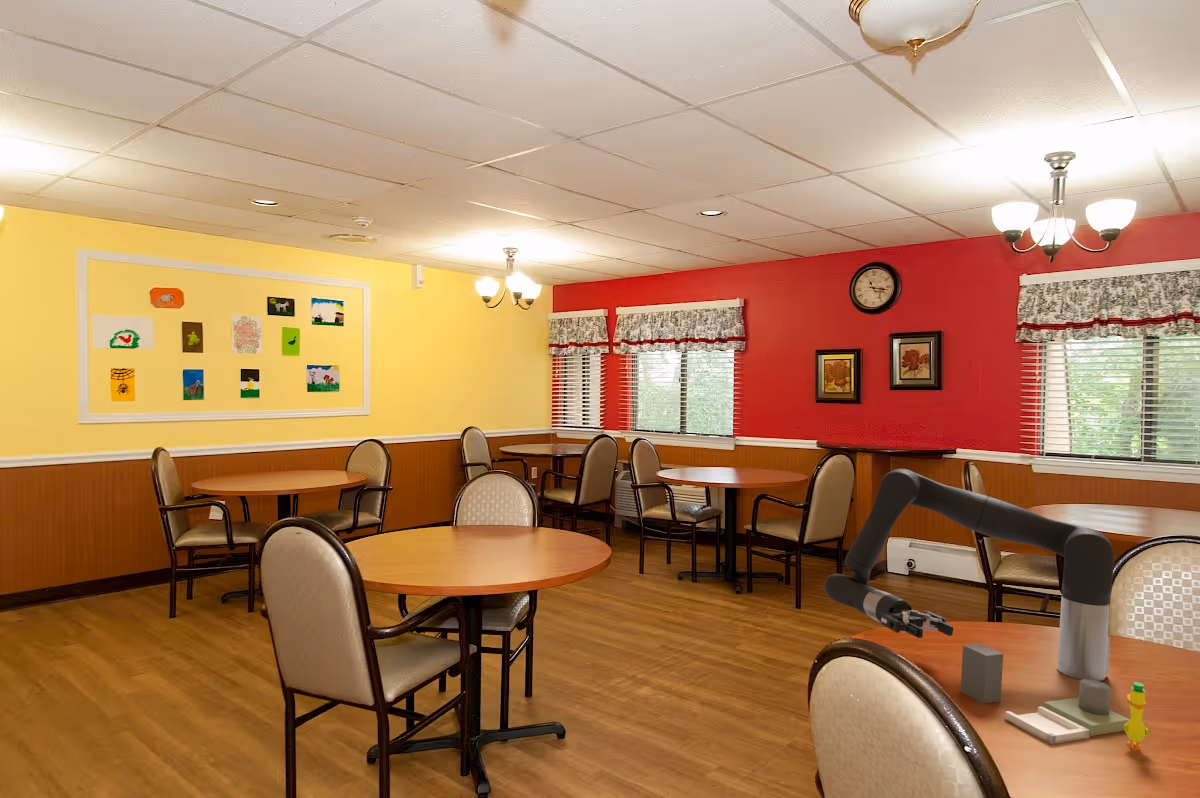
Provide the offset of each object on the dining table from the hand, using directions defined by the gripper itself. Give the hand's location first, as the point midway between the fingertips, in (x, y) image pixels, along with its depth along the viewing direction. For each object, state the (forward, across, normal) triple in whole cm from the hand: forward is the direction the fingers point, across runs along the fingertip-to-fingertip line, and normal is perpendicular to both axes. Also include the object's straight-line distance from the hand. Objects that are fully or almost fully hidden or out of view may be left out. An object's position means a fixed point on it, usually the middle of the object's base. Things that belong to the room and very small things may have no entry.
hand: (936, 632), depth 163 cm
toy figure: (+36, +11, +9) cm, 39 cm away
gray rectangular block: (+12, 0, +9) cm, 15 cm away
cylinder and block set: (+27, +7, +9) cm, 29 cm away
